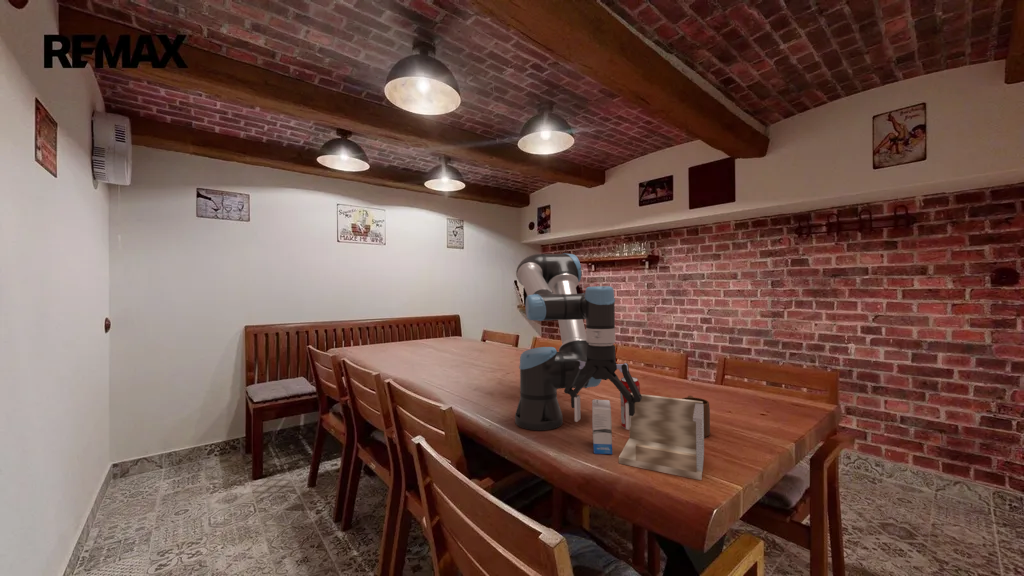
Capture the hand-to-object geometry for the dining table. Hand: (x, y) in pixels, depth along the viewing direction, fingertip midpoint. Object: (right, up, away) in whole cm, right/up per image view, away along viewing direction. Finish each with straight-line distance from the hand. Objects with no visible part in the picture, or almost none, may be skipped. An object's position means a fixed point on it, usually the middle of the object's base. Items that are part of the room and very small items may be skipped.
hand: (602, 424), depth 101 cm
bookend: (+20, -5, -11) cm, 24 cm away
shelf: (+13, -6, -7) cm, 16 cm away
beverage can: (+12, -6, +14) cm, 20 cm away
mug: (+30, -6, +12) cm, 33 cm away
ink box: (0, -7, 0) cm, 7 cm away
